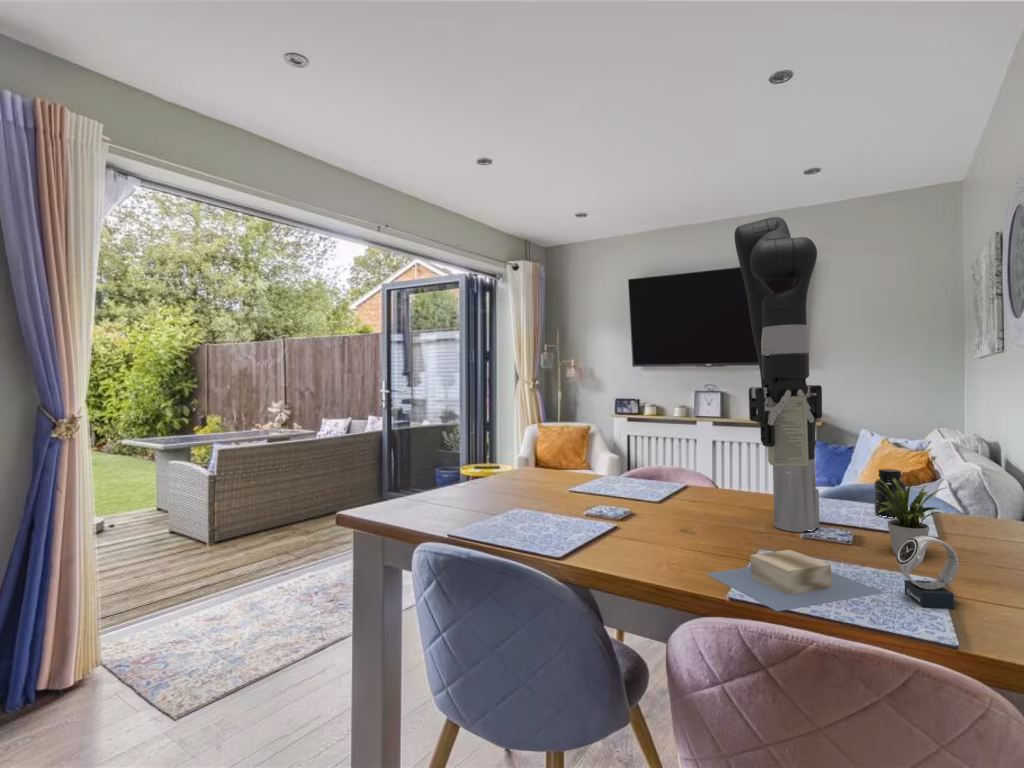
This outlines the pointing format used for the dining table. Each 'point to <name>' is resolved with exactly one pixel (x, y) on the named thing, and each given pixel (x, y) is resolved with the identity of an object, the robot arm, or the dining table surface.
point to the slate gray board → (782, 601)
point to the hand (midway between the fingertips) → (786, 444)
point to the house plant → (906, 515)
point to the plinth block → (790, 571)
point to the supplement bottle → (887, 478)
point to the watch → (927, 591)
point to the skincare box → (790, 433)
